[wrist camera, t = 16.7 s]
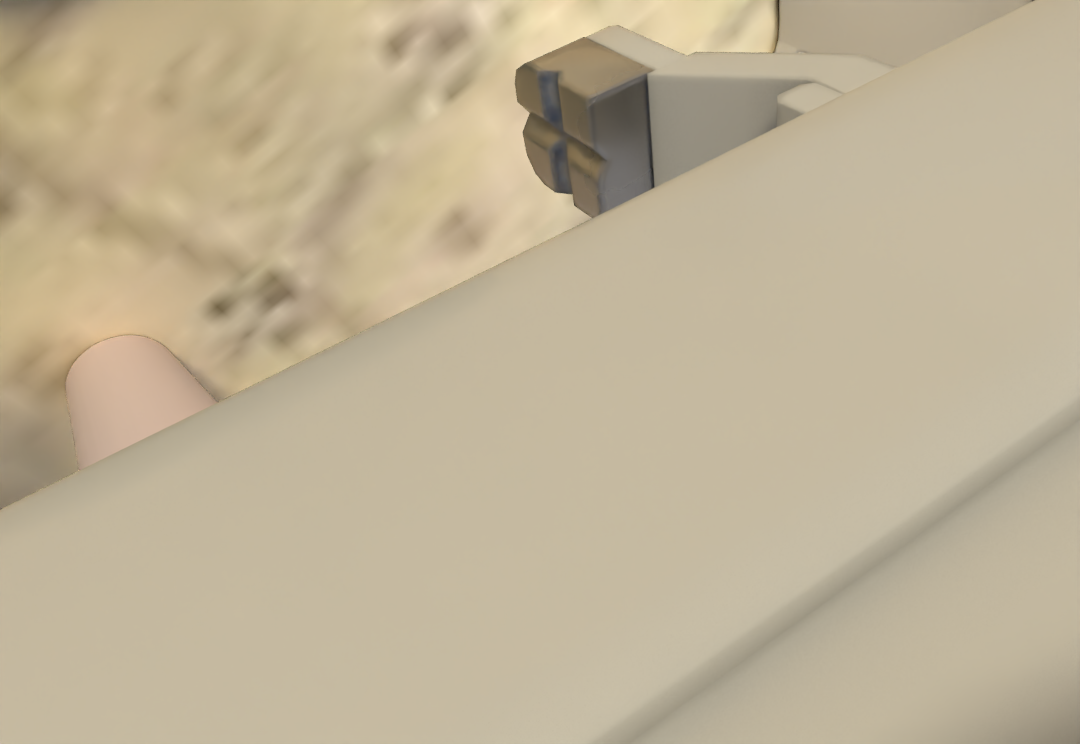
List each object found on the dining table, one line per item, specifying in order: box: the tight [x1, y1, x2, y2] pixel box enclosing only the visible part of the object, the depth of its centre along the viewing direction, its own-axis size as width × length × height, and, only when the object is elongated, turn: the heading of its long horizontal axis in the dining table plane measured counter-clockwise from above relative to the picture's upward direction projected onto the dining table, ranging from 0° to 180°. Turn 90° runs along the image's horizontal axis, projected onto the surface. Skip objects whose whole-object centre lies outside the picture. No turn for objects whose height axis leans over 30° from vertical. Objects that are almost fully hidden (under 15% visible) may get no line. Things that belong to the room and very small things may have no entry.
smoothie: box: [65, 335, 218, 470], centre depth 29 cm, size 6×6×14 cm
